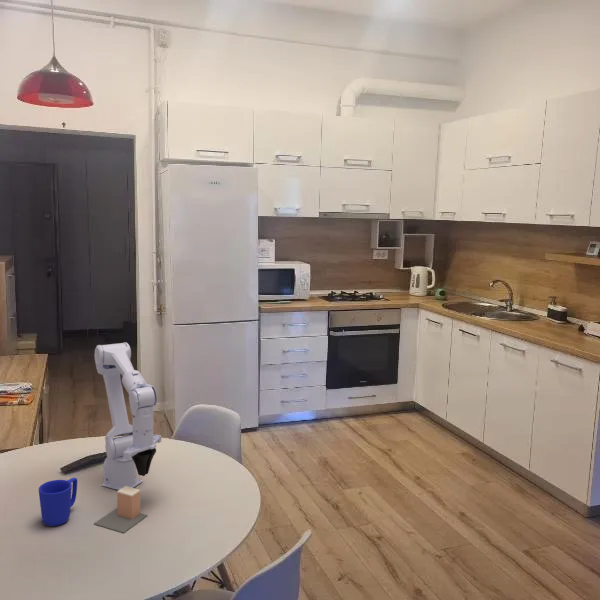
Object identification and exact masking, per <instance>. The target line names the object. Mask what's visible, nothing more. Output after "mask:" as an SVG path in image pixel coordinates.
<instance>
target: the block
mask: <svg viewBox="0 0 600 600" xmlns="http://www.w3.org/2000/svg"><path fill="white" fill-rule="evenodd" d="M116 495H117V499H116V502H117V504H116V505H117V507H116V508H117V513H118V515H119V516H123V517H126V518H130V519H133V518H135V517H136V516H137V515H139V514H140V513H141V489H139V488H135V487H134V488H131V487H127V486H125V487H123V488H122V489H120V490H117V493H116Z"/></svg>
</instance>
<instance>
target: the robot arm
mask: <svg viewBox="0 0 600 600" xmlns="http://www.w3.org/2000/svg"><path fill="white" fill-rule="evenodd" d="M131 357H132V349H131V346H130V344H129V343H128V342H121V343H120V342H119V343H111V344H97V345H96V347H95V349H94V362H95V368H96V370H97V374H99V375H102V377H103V382H104V385H105V391H106V397H107V403H108V409H109V413H110V418H111V425H112V427H111V428H110V430H108V432H107V433H106V435H105V437H104V440H105V445H104V446H105V454H106V456H107V457H106V458H105V459H104V462H103V483H102V484H101V486H102V487H105V488H109V489H112V490H117V491H119V490H120V489H122V488H123V487H125V486H127V487H131V488H135V487H136V486H137V487H138V485H140V484H141V483H143V480H142V479H139V478H137V474H138V476H142V477H145V476H146V475H148V474H149V472H150V467H151V464H152V461H153V458H154V456H155V455H156V453H157V445H156V444H160V443H161V442H162V435H160V434H154V407H155V406H156V405H157V404H158V395H157V390H156V388H155V386H154V385H151V384H150V383H149V384H148V383H147V381H146V379H145V378H144V377H143V375H142V374H141V371H139V370H136V369H134V366H133V363H132V362H131ZM121 376H122V378H121ZM123 387H124V389H125V390H126V392H127V394H128V402H129V406H130V413H131V415H132V424H130V422H129V417H128V412H127V411H128V410H127V407H126V401H125V395H124V390H123Z"/></svg>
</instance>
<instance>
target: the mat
mask: <svg viewBox="0 0 600 600" xmlns="http://www.w3.org/2000/svg"><path fill="white" fill-rule="evenodd" d="M147 517H148V514H145V513H142V512H140V514H139V515H137V516H136V517H135V518H133V519H130V518H126V517H123V516H119V515H118V513H117V507H116V508H115V509H113V510H112V511H110V512H109V513H107V514H106V515H104V516H103V517H102V518H100V519H98V520H96V521H95V522H94V523H93V525H94V526H98V527H102V528H105V529H108V530H111V531H115V532H118V533H121V534H125V533H127V532H128V531H129V530H131V529H132V528H133V527H134V526H136V525H137V524H139V523H140V522H141V521H143V520H145V518H147Z"/></svg>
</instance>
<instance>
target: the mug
mask: <svg viewBox="0 0 600 600" xmlns="http://www.w3.org/2000/svg"><path fill="white" fill-rule="evenodd" d="M77 490H78V478H77V477H71V478H70V479H68V480H67V479H55V480H48V481H46V482H44V483H42V484H41V485H40V486H39V487H38V496H39V505H40V513H41V520H42V523H43V524H44V525H45V526H48V527H56V526H61V525H63V524H65V523H66V522H68V520H69V519H70V516H71V515H70V514H71V507H73V506H74V504H75V502H76V499H77V492H78V491H77Z"/></svg>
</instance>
